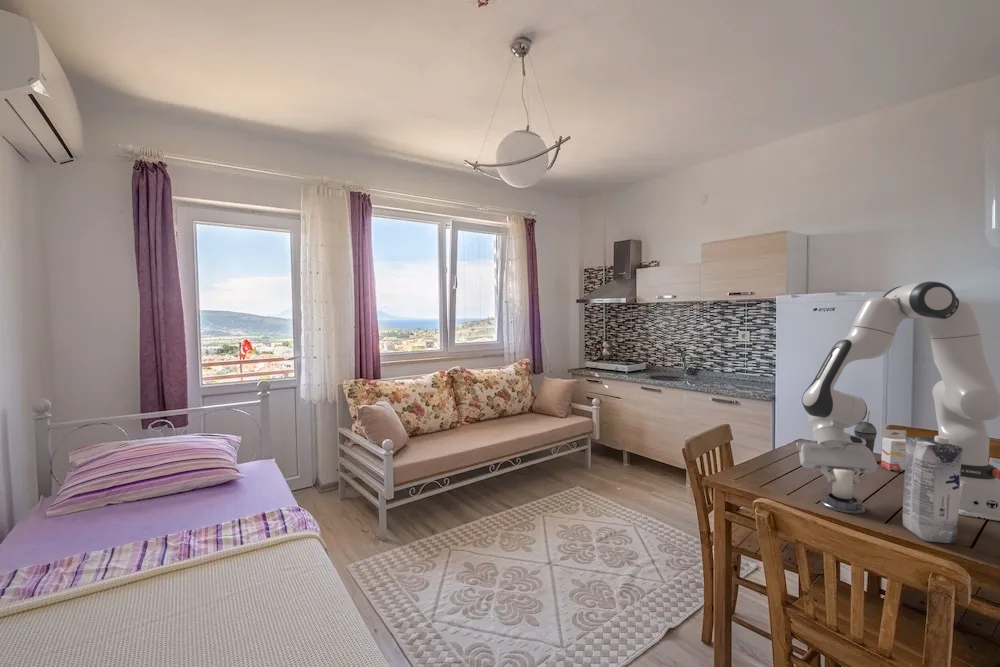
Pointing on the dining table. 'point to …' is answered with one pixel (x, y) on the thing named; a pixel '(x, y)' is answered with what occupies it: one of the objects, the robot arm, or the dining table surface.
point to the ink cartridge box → (893, 450)
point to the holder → (843, 504)
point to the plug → (843, 483)
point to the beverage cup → (866, 433)
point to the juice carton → (932, 488)
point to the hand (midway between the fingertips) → (843, 482)
